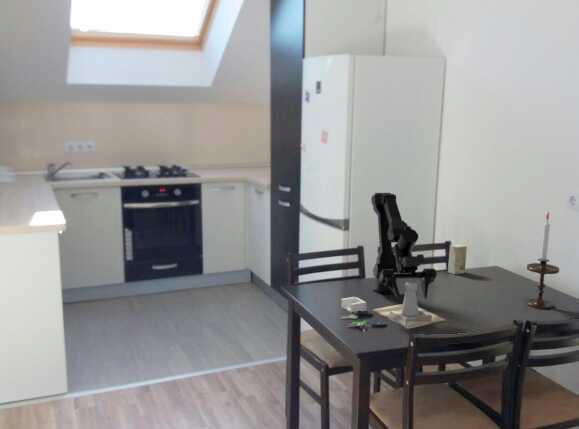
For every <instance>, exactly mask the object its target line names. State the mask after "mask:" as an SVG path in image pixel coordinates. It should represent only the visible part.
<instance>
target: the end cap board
mask: <svg viewBox="0 0 579 429" xmlns="http://www.w3.org/2000/svg"><path fill="white" fill-rule="evenodd" d="M402 306H403V303H400V304H395V305H389V306H384V307H379V308H374V309H373V310H372V312H374V313H377V315H381V316H382V317H384V318H385V319H388V320H389V321H392V322H393V323H395V324H398V325H399V326H401V327H403V328H405V329H414V328H418V327H423V326H427V325H433V324H437V323H442V322H446V319H445V318H443V317H441V316H438V315H437V314H435V313H432V312H430V311H428V310H426V309H423V308H421V307H419V306H418V311H419V315H418V317H413V318H407V317H405V316H403V315H402V313H401V311H402Z"/></svg>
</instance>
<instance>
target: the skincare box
mask: <svg viewBox="0 0 579 429" xmlns="http://www.w3.org/2000/svg"><path fill="white" fill-rule="evenodd" d="M467 248H468V246H467V245H464V244H460V243H459V244H451V245H449V251H448V252H449V253H448V254H449V255H448V267H447V272H448V273H450V274H452V275H459V274H465V273H466V272H465V271H466V264H467V263H466V260H467V250H468V249H467Z"/></svg>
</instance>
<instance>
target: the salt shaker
mask: <svg viewBox="0 0 579 429" xmlns="http://www.w3.org/2000/svg"><path fill="white" fill-rule="evenodd" d="M404 289H405V292H404V298H403V302H402V304H403V306H402V311H401V313H402V315H403V316H405V317H407V318H413V317H418V315H419V311H418V307H419V305H418V298H417V290H418V283H417V282H415V281H411V280H410V281H409V280H408V281H406V282H405V283H404Z"/></svg>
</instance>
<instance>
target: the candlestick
mask: <svg viewBox="0 0 579 429" xmlns="http://www.w3.org/2000/svg"><path fill="white" fill-rule="evenodd" d="M545 217H546V218H545V219H546V221H545V222H544V223H543V234H542V242H541V256H540V258H538V259H537V261H539V262H540V263H538V262H537V263H528V264H527V265H526V270H528V271H529V272H532V273H536V274H539V275H540V276H539V283H537V288H538V290H537V291H536V292H537V293H538V297H537V298H530V299H529V298H528V299H527V300H526V305H527V306H528V307H530V306H531V308H533V307H534V308H533V309H537V308H539V309H540V310H549V309H548V308H551V309H553V308H552V307H554V304H553V302H551V301H550V300H546V299H544V298H543V294H545V291H544V289H545V288H546V284H545V282H544V281H545V275H557V274H559V273H560V268H559V267H558V266H557V265H554V264H553V265H552V264H548V263H549V262H550V260H549V259H547V258H548V248H549V239H550V238H549V237H550V227H551V226H550V225H551V224H550V223H549V218H550V213H549V211H547V215H546V216H545ZM539 309H538V310H539Z"/></svg>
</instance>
